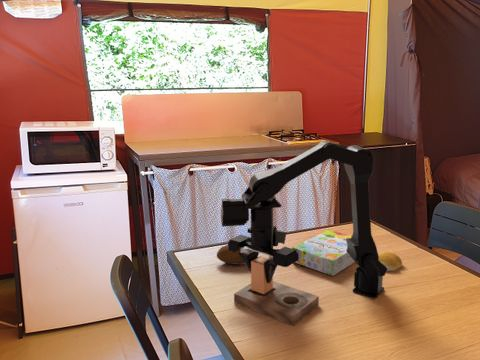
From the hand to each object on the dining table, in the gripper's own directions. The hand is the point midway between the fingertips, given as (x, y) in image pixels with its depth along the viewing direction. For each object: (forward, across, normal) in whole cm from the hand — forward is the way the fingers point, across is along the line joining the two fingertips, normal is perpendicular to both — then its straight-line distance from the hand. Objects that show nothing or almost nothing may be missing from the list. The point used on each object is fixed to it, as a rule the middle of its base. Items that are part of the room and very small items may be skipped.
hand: (262, 280), depth 117 cm
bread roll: (+6, -18, -40) cm, 44 cm away
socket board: (+5, -4, 0) cm, 7 cm away
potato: (+6, +20, -13) cm, 24 cm away
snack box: (+3, +5, -34) cm, 35 cm away
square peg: (+2, 0, 0) cm, 2 cm away
